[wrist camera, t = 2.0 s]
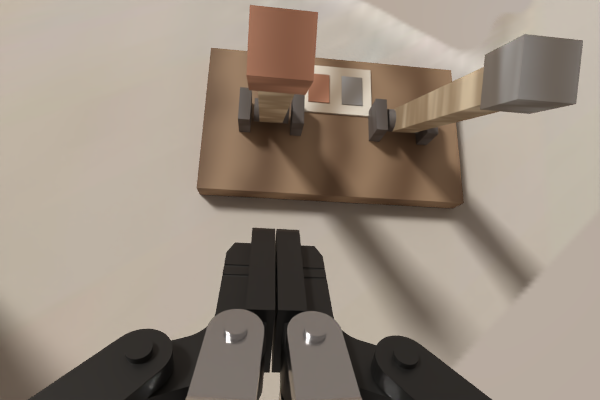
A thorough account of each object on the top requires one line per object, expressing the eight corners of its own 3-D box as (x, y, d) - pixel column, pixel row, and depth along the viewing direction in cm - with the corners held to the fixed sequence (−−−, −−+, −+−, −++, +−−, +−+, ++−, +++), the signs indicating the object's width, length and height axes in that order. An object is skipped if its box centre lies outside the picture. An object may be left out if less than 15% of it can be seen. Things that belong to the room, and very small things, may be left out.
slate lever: (382, 136, 36) (516, 98, 17) (384, 106, 36) (522, 33, 17) (413, 138, 36) (578, 104, 17) (415, 108, 36) (585, 40, 17)
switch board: (199, 194, 34) (192, 178, 30) (213, 60, 38) (208, 29, 34) (452, 208, 37) (479, 195, 33) (441, 81, 41) (463, 54, 36)
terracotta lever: (253, 127, 35) (243, 74, 16) (255, 95, 34) (247, 4, 16) (286, 129, 35) (315, 81, 16) (288, 98, 35) (320, 12, 16)
